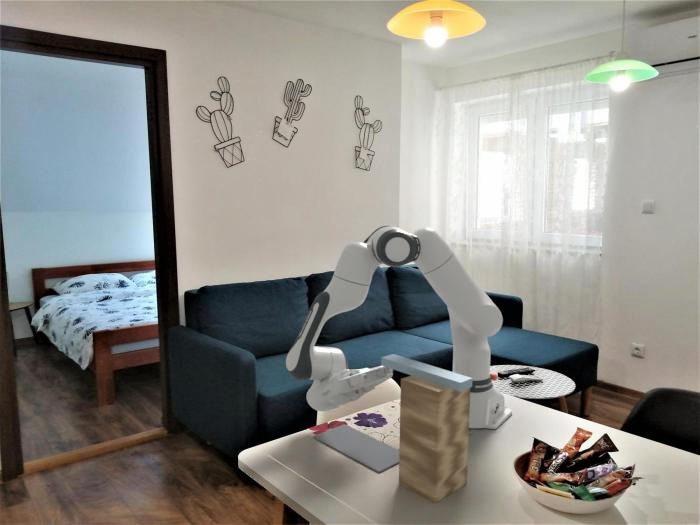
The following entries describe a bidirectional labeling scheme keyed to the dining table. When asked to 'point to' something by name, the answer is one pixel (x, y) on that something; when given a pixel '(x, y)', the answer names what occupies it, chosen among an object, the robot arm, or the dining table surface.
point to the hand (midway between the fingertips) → (378, 372)
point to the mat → (360, 447)
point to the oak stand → (433, 438)
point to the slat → (427, 372)
